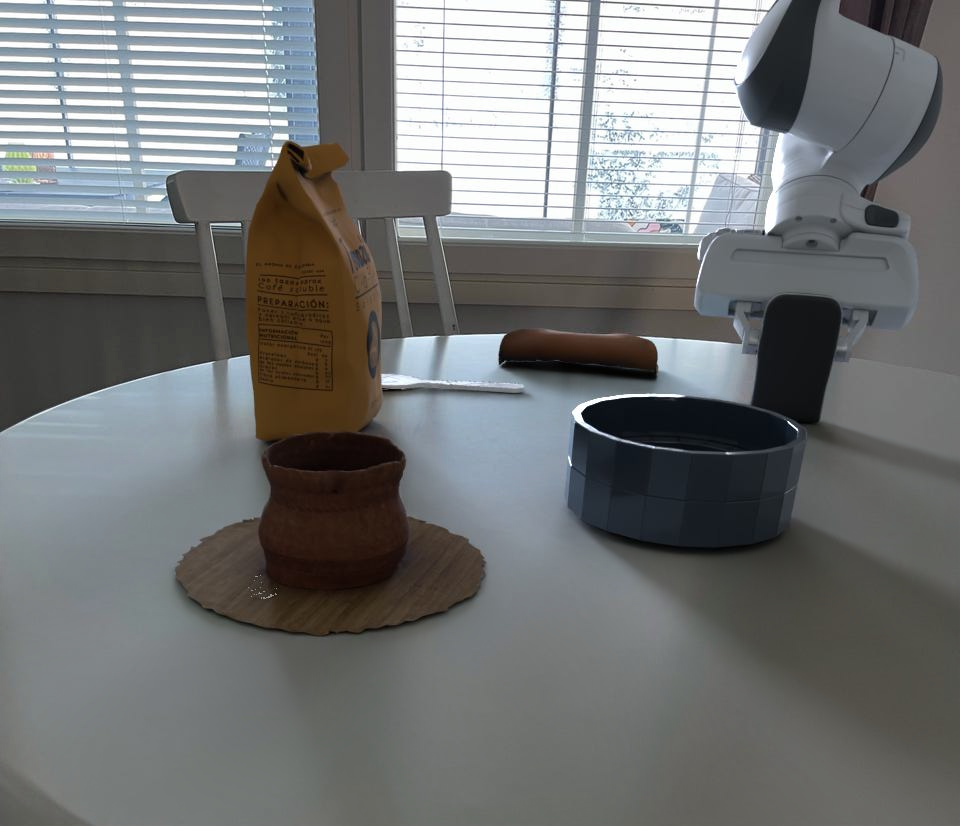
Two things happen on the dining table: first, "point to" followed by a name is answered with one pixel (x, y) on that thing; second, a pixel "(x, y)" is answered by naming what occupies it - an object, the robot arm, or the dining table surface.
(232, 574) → the ceramic pot
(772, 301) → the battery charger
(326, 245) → the coffee package
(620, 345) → the sunglasses case
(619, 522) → the faceted round bowl
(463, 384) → the spoon
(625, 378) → the dining table surface
